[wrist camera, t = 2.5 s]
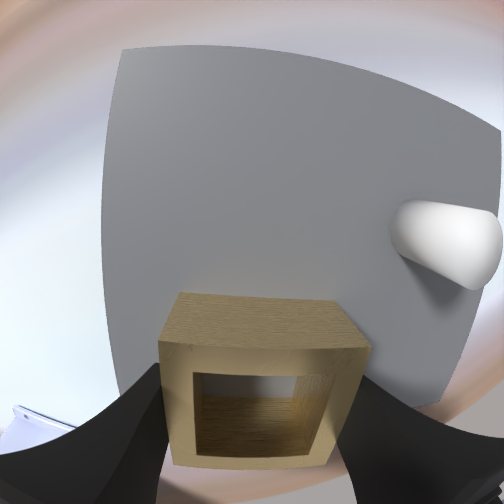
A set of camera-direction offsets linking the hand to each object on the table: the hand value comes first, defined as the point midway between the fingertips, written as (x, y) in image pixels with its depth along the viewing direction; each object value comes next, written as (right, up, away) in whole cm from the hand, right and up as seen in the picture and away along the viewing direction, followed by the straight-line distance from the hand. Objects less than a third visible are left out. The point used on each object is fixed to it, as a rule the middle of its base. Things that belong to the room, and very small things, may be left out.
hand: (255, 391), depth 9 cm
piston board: (+3, +4, +2) cm, 6 cm away
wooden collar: (0, 0, +2) cm, 2 cm away
